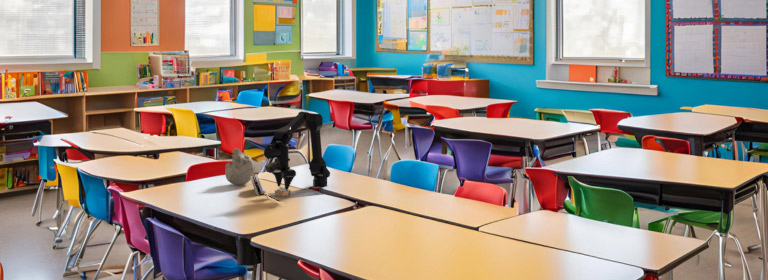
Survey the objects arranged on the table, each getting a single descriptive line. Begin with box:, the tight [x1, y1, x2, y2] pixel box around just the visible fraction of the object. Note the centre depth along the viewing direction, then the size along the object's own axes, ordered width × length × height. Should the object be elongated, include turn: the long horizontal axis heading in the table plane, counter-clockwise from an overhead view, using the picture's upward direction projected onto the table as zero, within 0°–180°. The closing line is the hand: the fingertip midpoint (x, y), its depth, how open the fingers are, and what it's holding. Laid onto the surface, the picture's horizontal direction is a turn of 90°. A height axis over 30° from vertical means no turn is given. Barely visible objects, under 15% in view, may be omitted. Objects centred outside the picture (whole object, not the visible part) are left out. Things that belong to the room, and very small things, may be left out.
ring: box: [274, 188, 292, 197], centre depth 349 cm, size 7×7×2 cm
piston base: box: [266, 186, 325, 202], centre depth 352 cm, size 24×14×5 cm, turn 121°
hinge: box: [250, 173, 268, 196], centre depth 362 cm, size 17×5×10 cm, turn 13°
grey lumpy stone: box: [224, 147, 256, 186], centre depth 377 cm, size 13×15×20 cm
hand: (282, 188), depth 349 cm, fingers open, 9 cm apart
